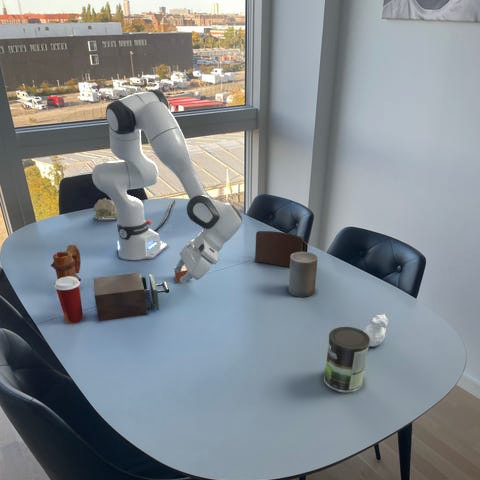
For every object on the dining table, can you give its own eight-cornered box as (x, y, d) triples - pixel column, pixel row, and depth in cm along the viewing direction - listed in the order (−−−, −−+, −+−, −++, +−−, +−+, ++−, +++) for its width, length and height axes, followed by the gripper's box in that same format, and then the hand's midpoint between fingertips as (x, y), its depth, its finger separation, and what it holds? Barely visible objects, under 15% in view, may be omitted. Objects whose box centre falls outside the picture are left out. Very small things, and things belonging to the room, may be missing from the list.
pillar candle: (317, 288, 173) (321, 250, 166) (309, 299, 166) (313, 260, 158) (293, 283, 177) (295, 246, 169) (284, 294, 169) (286, 255, 162)
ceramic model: (90, 219, 240) (86, 200, 235) (99, 213, 249) (96, 194, 244) (116, 221, 238) (113, 202, 233) (124, 214, 247) (121, 195, 242)
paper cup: (91, 315, 155) (84, 277, 148) (77, 326, 149) (69, 287, 142) (71, 311, 158) (63, 274, 150) (56, 322, 151) (47, 284, 144)
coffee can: (329, 394, 121) (334, 349, 114) (319, 370, 130) (324, 327, 123) (367, 392, 122) (375, 347, 114) (356, 368, 131) (362, 325, 123)
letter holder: (300, 269, 188) (303, 236, 181) (254, 261, 194) (255, 229, 187) (306, 260, 196) (309, 228, 189) (262, 253, 202) (263, 221, 195)
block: (186, 276, 182) (186, 265, 180) (189, 281, 178) (188, 270, 176) (175, 277, 181) (174, 266, 178) (177, 282, 177) (176, 271, 175)
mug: (73, 297, 167) (65, 258, 159) (52, 294, 168) (43, 256, 161) (92, 279, 179) (85, 242, 171) (72, 277, 181) (65, 241, 173)
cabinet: (142, 296, 167) (139, 272, 162) (147, 315, 156) (144, 289, 151) (97, 302, 163) (93, 277, 158) (99, 321, 152) (94, 295, 147)
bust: (359, 356, 139) (384, 341, 130) (344, 335, 141) (368, 319, 132) (382, 342, 146) (407, 326, 137) (368, 322, 148) (392, 305, 139)
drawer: (166, 292, 168) (164, 272, 164) (172, 308, 158) (170, 287, 154) (112, 299, 164) (109, 279, 160) (115, 316, 153) (111, 295, 149)
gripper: (192, 230, 164) (167, 259, 167) (205, 252, 147) (176, 283, 150) (205, 241, 167) (180, 269, 170) (219, 263, 151) (191, 294, 153)
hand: (178, 276), depth 160 cm, fingers open, 8 cm apart
